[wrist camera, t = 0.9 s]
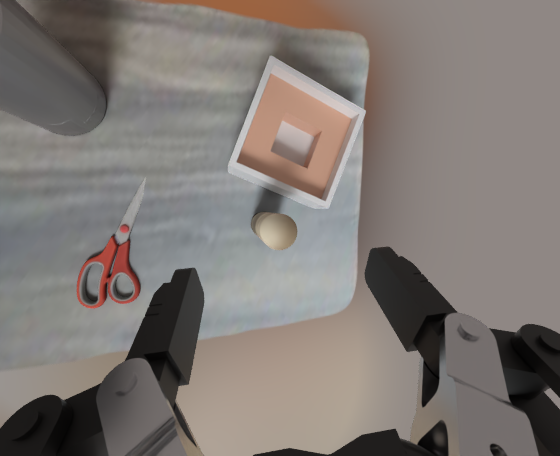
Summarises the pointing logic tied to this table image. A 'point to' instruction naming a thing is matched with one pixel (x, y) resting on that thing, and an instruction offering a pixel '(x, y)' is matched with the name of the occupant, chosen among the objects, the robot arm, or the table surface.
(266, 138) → the box
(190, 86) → the table surface
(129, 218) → the scissors
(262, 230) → the peg
